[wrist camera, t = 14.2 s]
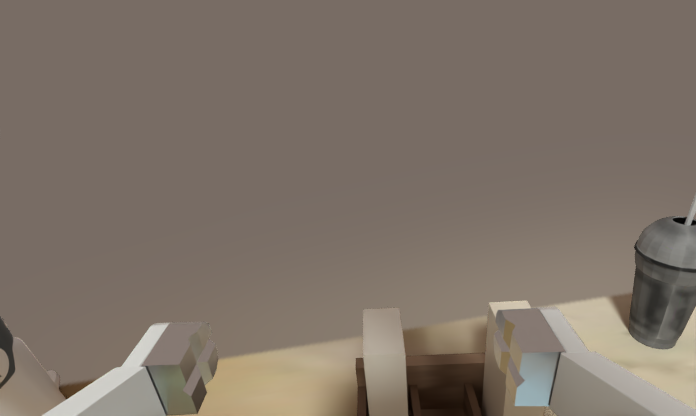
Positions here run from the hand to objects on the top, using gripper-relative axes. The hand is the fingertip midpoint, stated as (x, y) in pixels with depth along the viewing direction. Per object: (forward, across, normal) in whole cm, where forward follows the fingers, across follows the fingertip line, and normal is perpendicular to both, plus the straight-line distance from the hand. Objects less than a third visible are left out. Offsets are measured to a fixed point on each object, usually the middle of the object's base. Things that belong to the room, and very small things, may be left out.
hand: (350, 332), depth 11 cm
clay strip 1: (+14, -1, +27) cm, 31 cm away
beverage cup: (+28, -33, +29) cm, 52 cm away
